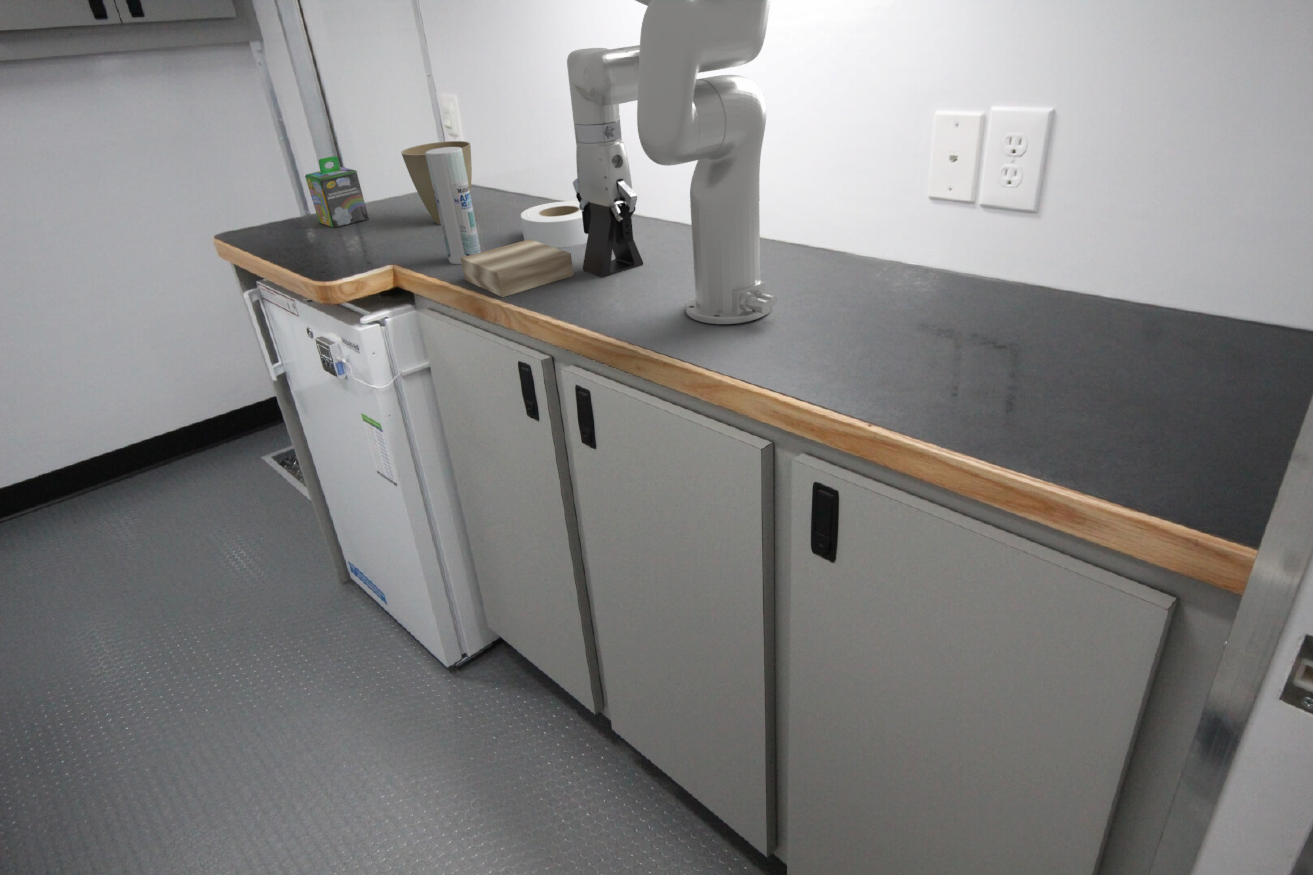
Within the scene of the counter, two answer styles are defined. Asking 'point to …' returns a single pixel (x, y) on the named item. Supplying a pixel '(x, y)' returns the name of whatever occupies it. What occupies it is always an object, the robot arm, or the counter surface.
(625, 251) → the black triangular stand
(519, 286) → the birch base
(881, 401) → the counter surface
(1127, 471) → the counter surface
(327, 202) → the chalk box
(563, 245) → the roll of tape
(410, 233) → the counter surface
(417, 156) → the plant pot
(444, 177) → the spray can
